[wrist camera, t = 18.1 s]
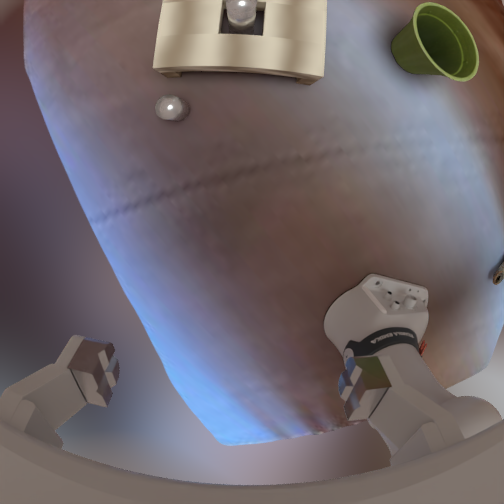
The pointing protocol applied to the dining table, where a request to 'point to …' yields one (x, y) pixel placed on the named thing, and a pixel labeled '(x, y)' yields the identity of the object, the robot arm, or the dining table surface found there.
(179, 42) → the board
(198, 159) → the dining table surface
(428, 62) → the plant pot
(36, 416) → the robot arm
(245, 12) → the grey peg
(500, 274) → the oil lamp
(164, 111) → the short pin
